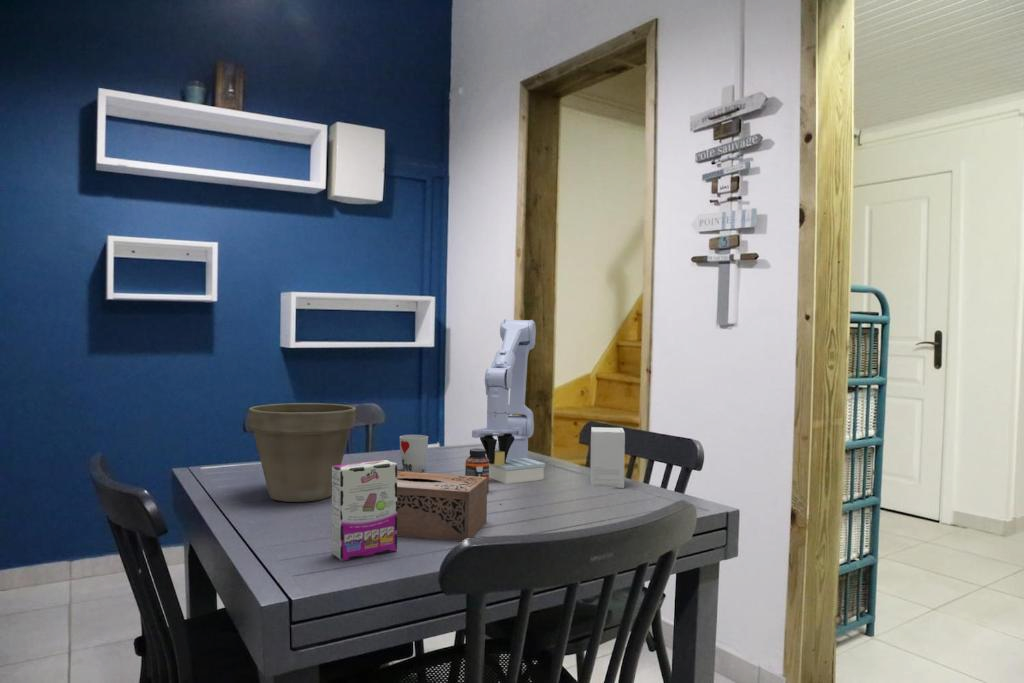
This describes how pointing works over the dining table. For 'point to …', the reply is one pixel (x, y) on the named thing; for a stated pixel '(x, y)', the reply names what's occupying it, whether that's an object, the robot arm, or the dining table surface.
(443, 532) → the tissue box cover
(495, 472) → the tub
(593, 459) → the supplement box
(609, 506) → the dining table surface
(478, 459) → the supplement bottle
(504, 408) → the robot arm
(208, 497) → the dining table surface
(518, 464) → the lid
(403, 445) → the cup
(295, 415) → the plant pot
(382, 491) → the candy bar box
